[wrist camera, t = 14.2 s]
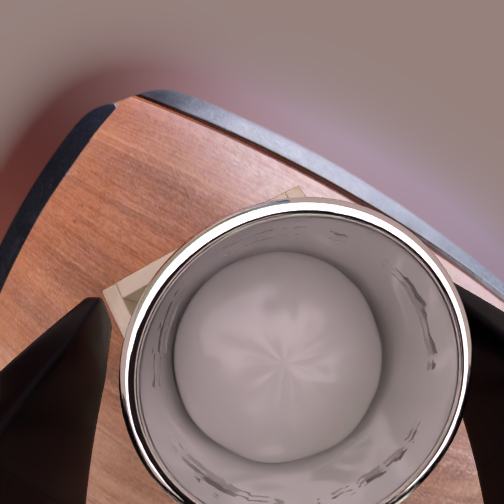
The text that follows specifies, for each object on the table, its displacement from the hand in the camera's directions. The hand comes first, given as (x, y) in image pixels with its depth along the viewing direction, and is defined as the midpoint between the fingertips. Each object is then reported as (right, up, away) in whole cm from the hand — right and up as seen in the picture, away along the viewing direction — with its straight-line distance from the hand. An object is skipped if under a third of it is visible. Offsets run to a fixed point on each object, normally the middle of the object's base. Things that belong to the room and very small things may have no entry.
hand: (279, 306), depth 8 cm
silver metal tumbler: (0, -4, +12) cm, 12 cm away
